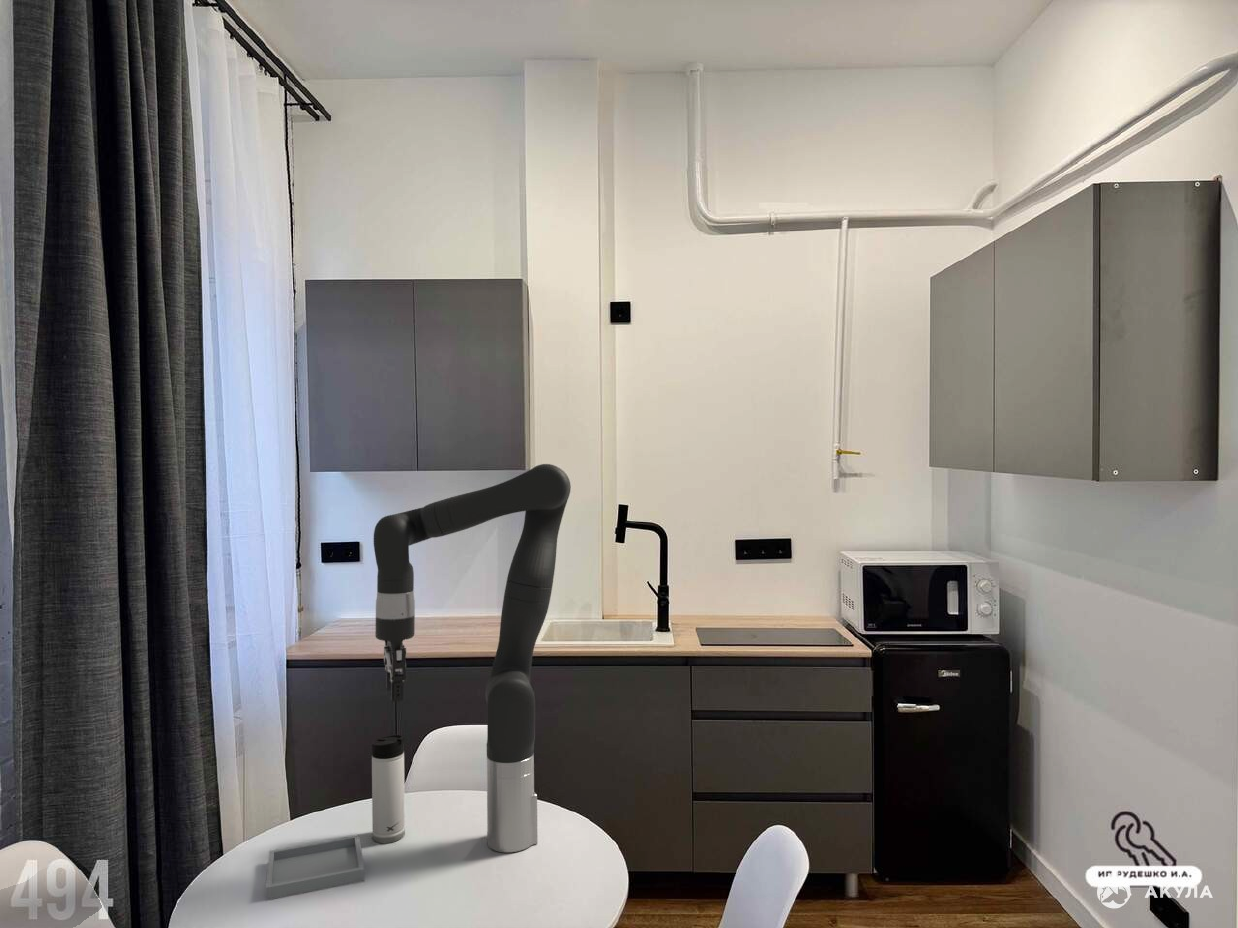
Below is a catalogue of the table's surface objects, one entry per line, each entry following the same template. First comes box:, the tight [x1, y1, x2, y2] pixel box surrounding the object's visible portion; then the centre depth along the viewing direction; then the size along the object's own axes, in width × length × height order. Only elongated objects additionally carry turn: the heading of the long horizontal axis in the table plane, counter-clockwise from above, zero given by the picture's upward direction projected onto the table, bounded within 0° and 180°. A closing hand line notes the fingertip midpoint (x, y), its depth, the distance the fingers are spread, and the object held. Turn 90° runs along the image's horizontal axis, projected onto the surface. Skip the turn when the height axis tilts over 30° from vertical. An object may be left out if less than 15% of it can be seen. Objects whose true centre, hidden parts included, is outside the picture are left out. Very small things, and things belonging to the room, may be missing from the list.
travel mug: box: [371, 734, 406, 844], centre depth 158 cm, size 6×7×20 cm
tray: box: [265, 834, 365, 901], centre depth 144 cm, size 16×14×2 cm
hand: (394, 695), depth 156 cm, fingers open, 8 cm apart
